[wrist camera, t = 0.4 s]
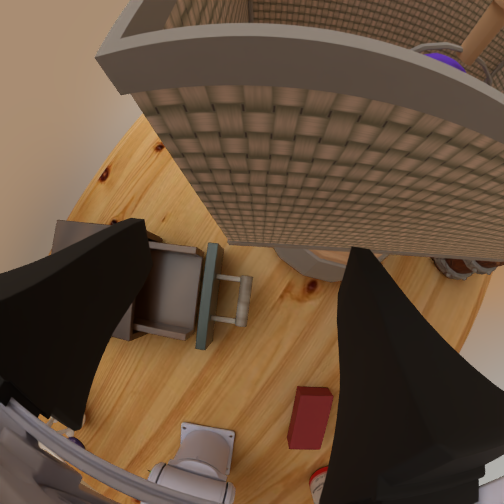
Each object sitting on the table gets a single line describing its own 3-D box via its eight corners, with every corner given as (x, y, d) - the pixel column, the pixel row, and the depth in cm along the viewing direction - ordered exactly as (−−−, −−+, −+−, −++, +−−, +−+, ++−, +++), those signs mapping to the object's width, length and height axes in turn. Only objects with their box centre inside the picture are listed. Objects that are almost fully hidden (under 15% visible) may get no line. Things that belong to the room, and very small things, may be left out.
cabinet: (162, 238, 38) (142, 228, 31) (150, 332, 37) (129, 341, 30) (83, 228, 39) (57, 219, 32) (72, 312, 37) (45, 315, 30)
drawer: (256, 253, 37) (256, 248, 32) (244, 346, 35) (242, 356, 30) (132, 238, 38) (115, 231, 32) (122, 323, 36) (104, 327, 31)
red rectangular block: (315, 438, 34) (320, 449, 31) (286, 437, 34) (288, 449, 31) (327, 387, 35) (333, 396, 32) (297, 386, 35) (300, 395, 32)
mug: (465, 296, 36) (520, 287, 21) (402, 256, 39) (444, 230, 25) (483, 236, 37) (532, 210, 22) (424, 196, 40) (463, 154, 26)
